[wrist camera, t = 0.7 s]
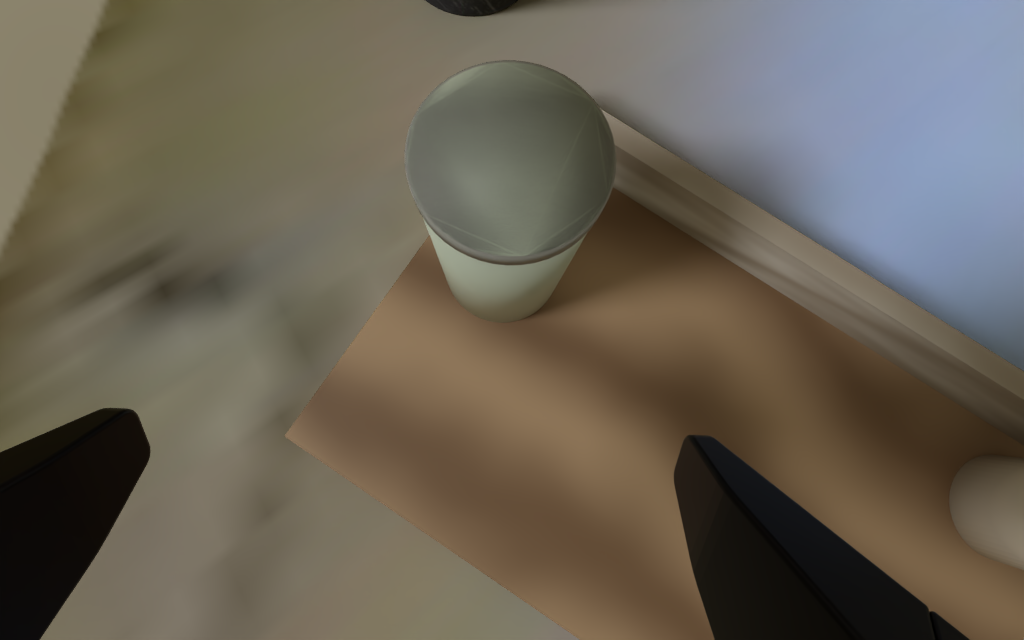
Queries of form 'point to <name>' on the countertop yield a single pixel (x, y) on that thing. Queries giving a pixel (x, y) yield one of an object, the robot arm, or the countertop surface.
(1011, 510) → the salt jar
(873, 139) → the countertop surface
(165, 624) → the countertop surface
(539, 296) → the tea tin
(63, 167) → the countertop surface
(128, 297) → the countertop surface
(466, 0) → the travel mug
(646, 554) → the shelf board
